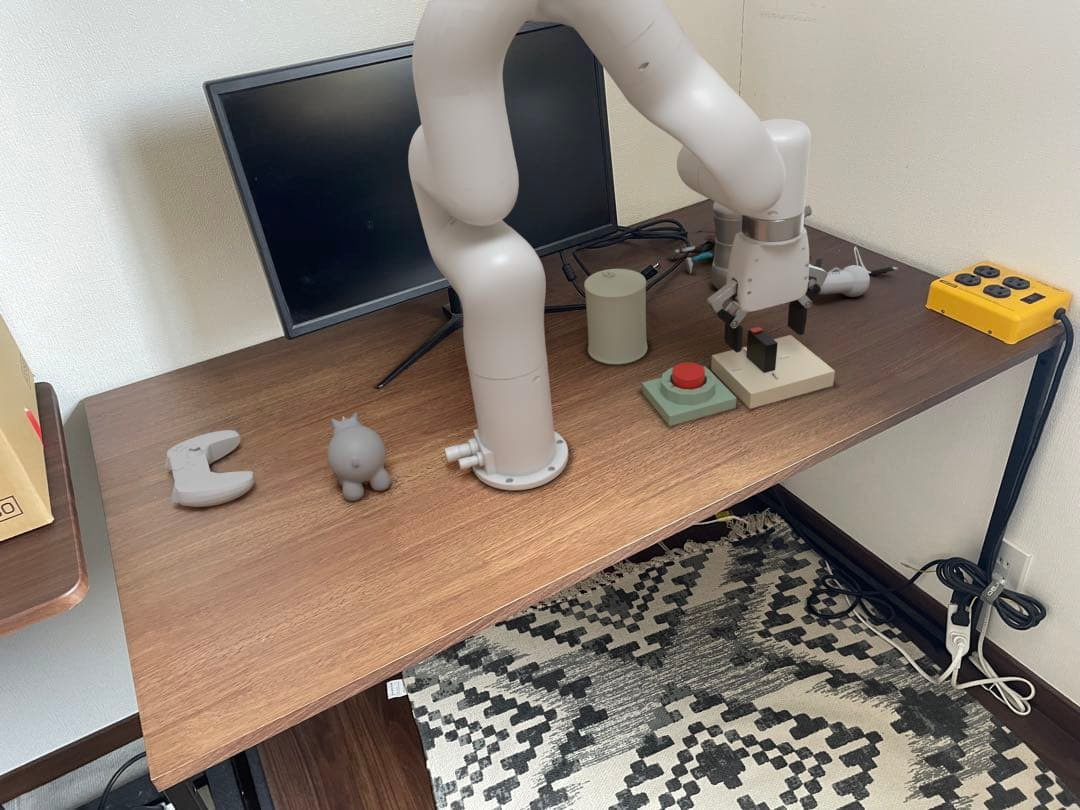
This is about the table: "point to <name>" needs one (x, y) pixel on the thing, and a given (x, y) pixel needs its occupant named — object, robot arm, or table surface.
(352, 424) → the chubby cartoon animal
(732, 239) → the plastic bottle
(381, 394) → the table surface
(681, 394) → the power switch
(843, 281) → the clip-on lamp
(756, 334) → the knob
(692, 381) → the power button
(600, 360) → the can
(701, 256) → the action figure
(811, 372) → the panel
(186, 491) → the game controller
